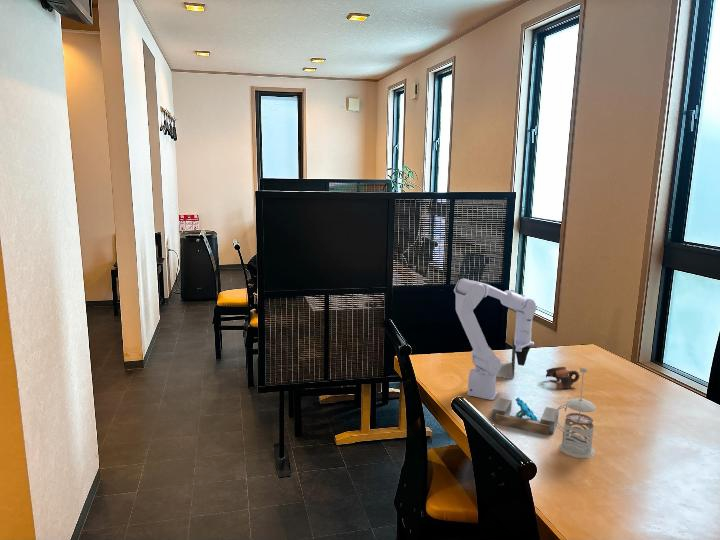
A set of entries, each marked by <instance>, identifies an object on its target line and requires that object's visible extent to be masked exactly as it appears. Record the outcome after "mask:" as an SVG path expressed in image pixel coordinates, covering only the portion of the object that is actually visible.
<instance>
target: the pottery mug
mask: <svg viewBox="0 0 720 540" xmlns="http://www.w3.org/2000/svg"><path fill="white" fill-rule="evenodd" d="M545 374H546V375H545V378H550V377H551V378H555V379H556V380H557V381H560V382H557V383H555V385H556V388H557V390H561V389H563V390H564V389H572V385H573V384H574V383H577V382H578V381H579V379H580V376H581V375H580V374H579V372H578V371H577V370H568V369H567V367H566V366H558V367H551V368H548V369H546V373H545ZM574 375H575V377H574V378H573V376H574Z"/></svg>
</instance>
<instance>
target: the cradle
mask: <svg viewBox="0 0 720 540" xmlns="http://www.w3.org/2000/svg"><path fill="white" fill-rule="evenodd" d="M512 402H513V400H511V399H507V398H503V397H499V398H498V400H497V402H496V403H495V404H494V406H493V408H491V410H492V411H491V421H492V422H494V423H495V424H497V425H501V426H505V427H510V428H514V429H519V430H524V431H527V432H532V433H537V434H542V435H544V436H545V435H546V436H548V434H552V435H553V434H554V433H555V430H556V427H557V426H556V424H557V421H558V422H559V414H560V413H559V411H560V409H559V410H558V411H557V409H558V408H554V407H548V406H546V407H545V408H544V411H543V413H542V415H541V417H540V421H539V420H538V421H539V422H538V421H533V420H530V419H528V418H523V417H521V418H519V417H517V416H513V415H510V414H511V412H512V405H513V404H512ZM556 411H557V413H556V418H557V421H556V418H555V421H556V424H555V421H554V415H555V412H556ZM557 425H558V424H557Z"/></svg>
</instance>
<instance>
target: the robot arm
mask: <svg viewBox="0 0 720 540" xmlns="http://www.w3.org/2000/svg"><path fill="white" fill-rule="evenodd" d="M453 293H454V294H455V312H456V314H457V317H458V319H459V321H460V323H461V326H462V329H463V330H464V333H465V334H466V336H467V339H468V340H469V343H470V346H471V348H472V350H471V352H470V353H471V356H472V357H471V358H472V363H473V365H474V368H471V369H470V370H469V373H468V379H467V380H468V382H467V394H466V395H467V396H471V397H476V398H480V399H484V400H491V401H494V399H495V398H496V397H497V395H498V394H499V391H498V390H496V385H497V383H496V382H497V377H496V374H497V372H498V371H499V370H500V368H501V362H502V361H501V359H500V358H499V357H497V356H496V354H495V352H494V351H493V350H492V348H491V347H490V346H489V345H488V343H487V340H486V337H485V335H484V333H483V331H482V328H481V326H480V324H479V322H478V319H477V317H476V314H475V313H474V309H476V307H477V306H478V305H479V304H480V302H481V301H482V300H483V299H484V298H486V297H487V296H489V297H492V298H495V299H497V300H499V301H500V304H501V305H503V307H504V306H505V307H506V308H510V309H511V310H514V311H516V313H515V328H514V329H515V331H514V343H515V346H514V350H515V357H516V360H517V365H518V366H525V365H526V361H527V356H528V353H529V351H530V350H531V348H532V346H533V345H534V344H535V342H534V341H532V331H533V330H532V329H533V319H534V316H535V313H536V311H537V308H538V306H537V305H536V302H535V300H534V299H532V298H529V297H525V296H526V295H524V294H518V293H517V292H516V290H514V289H509V290H508V289H506V290H504V291H503V290H501V289H500V288H499V289H498V288H497V287H495V286H492V285H490V284H488V283H484V282H481V281H477V280H472V279H468V278H461V279H459V280H457V282H456V283H455V287H454V289H453ZM531 345H532V346H531Z"/></svg>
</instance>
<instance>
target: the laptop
mask: <svg viewBox="0 0 720 540" xmlns="http://www.w3.org/2000/svg"><path fill="white" fill-rule="evenodd" d="M514 340H515V334H514V335H513V334H512V348H511V361H509V362H508V361H501V368H500V370H499V371H498V372H497V374H496V378H500V377H505V378H504V379H510V378H512V380H514V378H515V366H516V353H515V350H514V346H515V343H514Z"/></svg>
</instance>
